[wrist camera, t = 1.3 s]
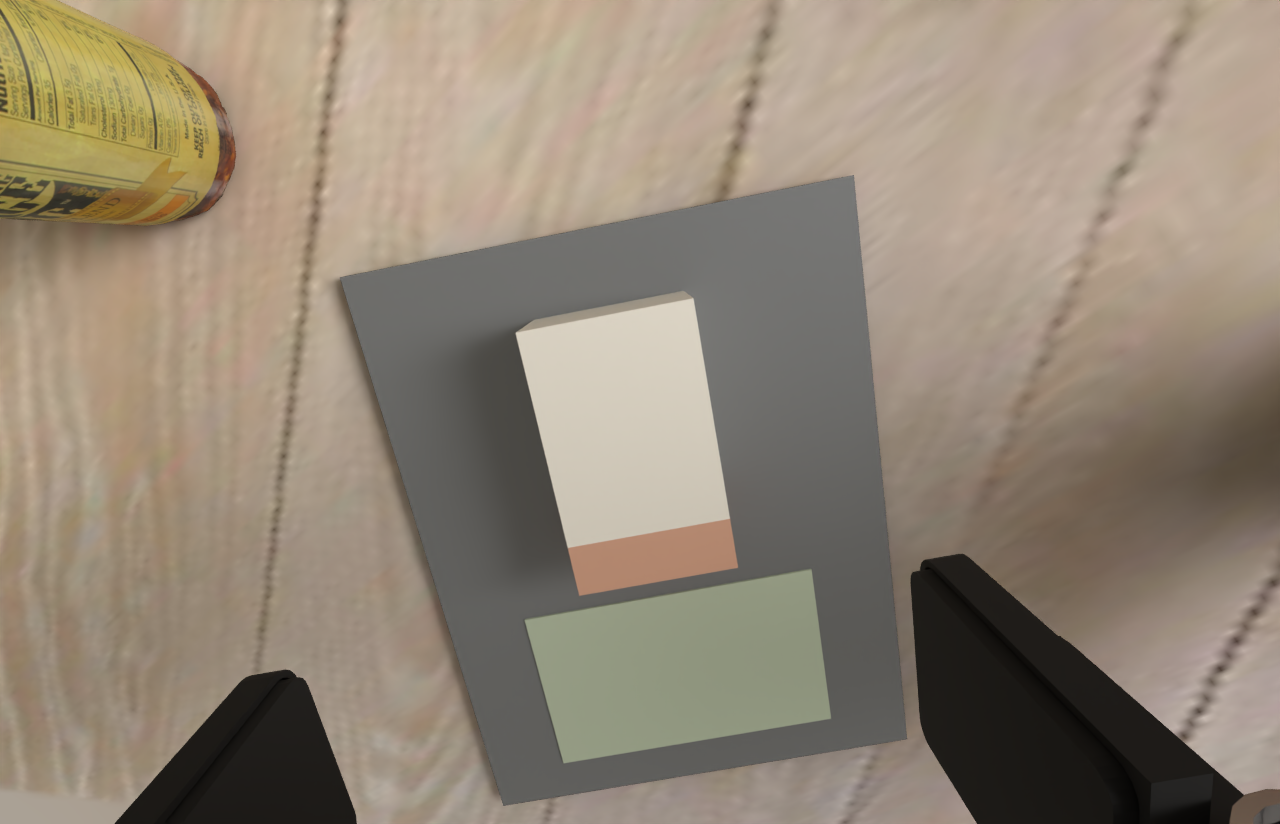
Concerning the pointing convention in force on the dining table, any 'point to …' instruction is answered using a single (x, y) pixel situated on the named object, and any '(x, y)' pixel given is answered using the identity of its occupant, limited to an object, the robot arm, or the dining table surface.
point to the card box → (630, 441)
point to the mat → (753, 477)
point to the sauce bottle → (102, 123)
